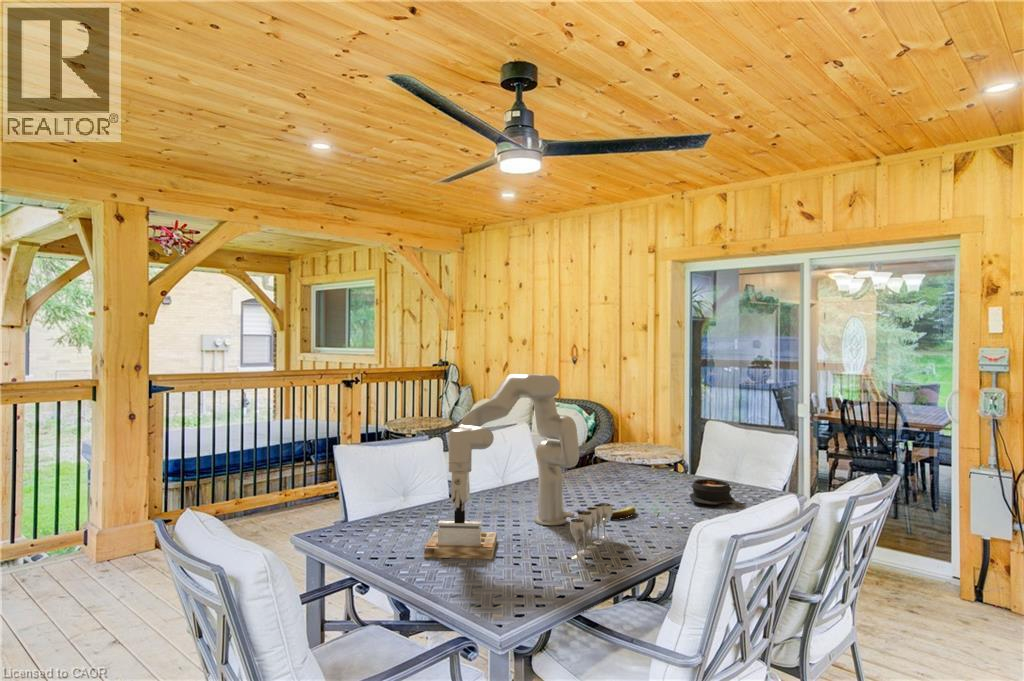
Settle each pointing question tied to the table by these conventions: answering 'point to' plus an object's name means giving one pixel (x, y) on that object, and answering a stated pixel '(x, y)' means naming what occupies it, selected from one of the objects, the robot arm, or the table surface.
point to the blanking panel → (459, 534)
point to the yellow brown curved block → (623, 513)
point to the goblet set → (589, 525)
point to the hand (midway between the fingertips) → (459, 522)
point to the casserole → (711, 492)
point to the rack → (462, 548)
